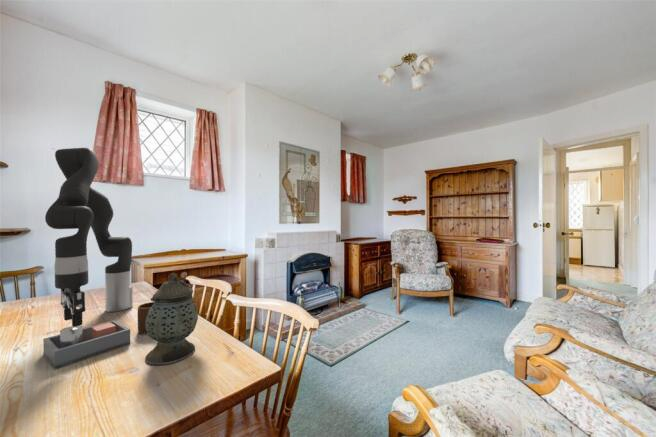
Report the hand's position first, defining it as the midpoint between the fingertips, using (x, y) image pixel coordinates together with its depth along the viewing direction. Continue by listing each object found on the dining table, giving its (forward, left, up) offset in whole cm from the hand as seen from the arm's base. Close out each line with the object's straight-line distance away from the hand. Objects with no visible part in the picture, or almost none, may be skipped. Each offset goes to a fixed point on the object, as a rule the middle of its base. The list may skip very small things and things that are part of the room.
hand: (73, 322), depth 83 cm
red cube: (-8, 0, -9) cm, 12 cm away
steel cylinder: (0, 0, -9) cm, 9 cm away
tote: (-4, 0, -10) cm, 11 cm away
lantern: (-18, +25, -10) cm, 32 cm away
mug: (-22, +2, -10) cm, 24 cm away
